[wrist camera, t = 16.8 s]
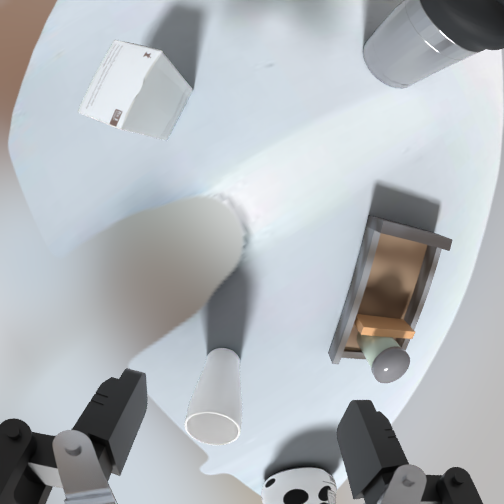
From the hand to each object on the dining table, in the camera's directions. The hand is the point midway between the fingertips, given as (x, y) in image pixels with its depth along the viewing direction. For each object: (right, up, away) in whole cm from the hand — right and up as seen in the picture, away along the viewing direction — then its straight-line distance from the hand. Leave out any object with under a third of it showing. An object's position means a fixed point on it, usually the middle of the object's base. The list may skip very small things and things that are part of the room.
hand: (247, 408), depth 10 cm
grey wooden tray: (+20, -1, +31) cm, 37 cm away
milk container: (+11, -48, +43) cm, 65 cm away
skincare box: (-12, +25, +25) cm, 37 cm away
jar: (+19, -7, +32) cm, 38 cm away
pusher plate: (+19, -4, +30) cm, 36 cm away
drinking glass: (-4, -11, +34) cm, 36 cm away
